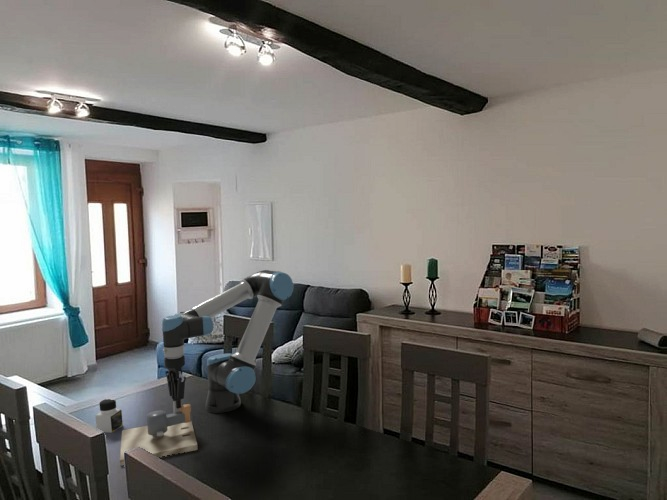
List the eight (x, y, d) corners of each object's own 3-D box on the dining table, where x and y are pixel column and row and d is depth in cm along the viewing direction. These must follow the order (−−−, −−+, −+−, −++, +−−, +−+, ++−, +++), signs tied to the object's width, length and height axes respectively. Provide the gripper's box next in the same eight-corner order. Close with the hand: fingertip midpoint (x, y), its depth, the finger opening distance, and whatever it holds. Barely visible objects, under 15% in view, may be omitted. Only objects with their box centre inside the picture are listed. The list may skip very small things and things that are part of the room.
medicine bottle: (112, 433, 200) (109, 403, 199) (96, 432, 202) (93, 403, 200) (123, 425, 207) (120, 397, 206) (107, 424, 208) (105, 396, 207)
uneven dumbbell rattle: (195, 427, 192) (193, 408, 191) (150, 438, 184) (149, 419, 183) (188, 418, 200) (187, 400, 200) (145, 428, 192) (144, 410, 192)
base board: (190, 422, 207) (190, 413, 207) (197, 449, 183) (196, 439, 182) (122, 435, 198) (121, 425, 197) (120, 465, 173) (119, 454, 173)
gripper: (157, 355, 196) (161, 413, 198) (172, 361, 186) (176, 423, 188) (176, 350, 201) (179, 408, 203) (191, 357, 192) (194, 417, 194)
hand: (177, 415), depth 196 cm, fingers closed
